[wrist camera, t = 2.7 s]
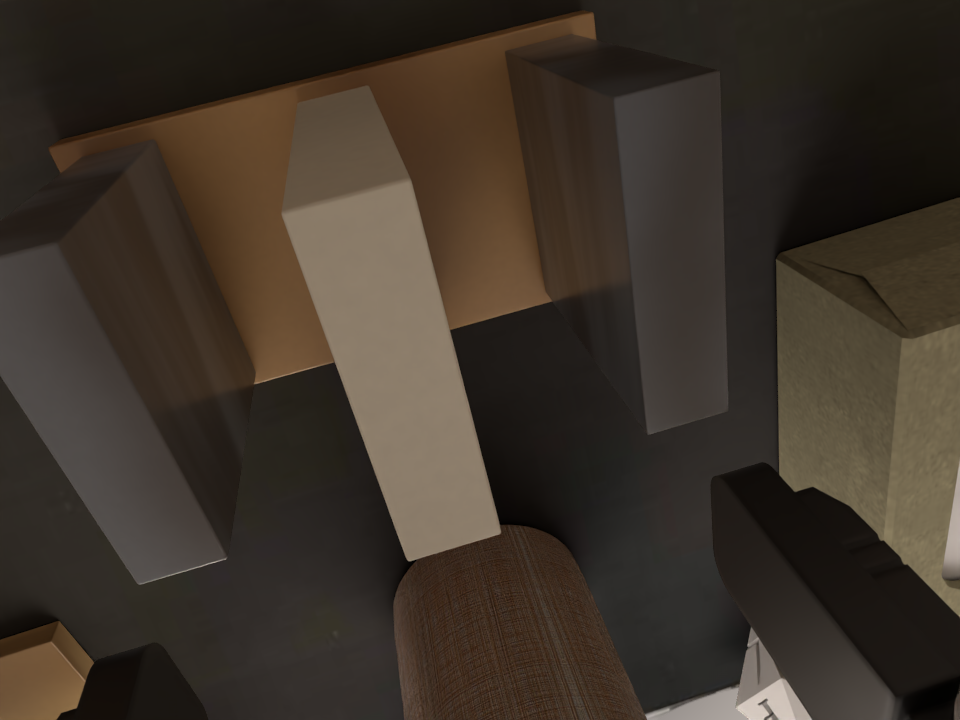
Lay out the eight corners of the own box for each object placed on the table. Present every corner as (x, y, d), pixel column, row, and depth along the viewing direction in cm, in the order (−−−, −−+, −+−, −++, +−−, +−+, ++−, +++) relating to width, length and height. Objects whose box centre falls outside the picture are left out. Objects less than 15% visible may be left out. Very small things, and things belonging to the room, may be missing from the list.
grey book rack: (184, 390, 28) (116, 608, 18) (58, 139, 23) (-128, 261, 13) (612, 271, 29) (755, 417, 20) (582, 9, 24) (756, 35, 15)
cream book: (373, 340, 27) (407, 563, 17) (296, 102, 23) (280, 212, 12) (433, 323, 28) (502, 534, 17) (368, 84, 23) (410, 177, 13)
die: (794, 546, 41) (774, 712, 34) (946, 618, 40) (956, 804, 33) (728, 604, 47) (701, 754, 41) (857, 668, 46) (851, 833, 40)
